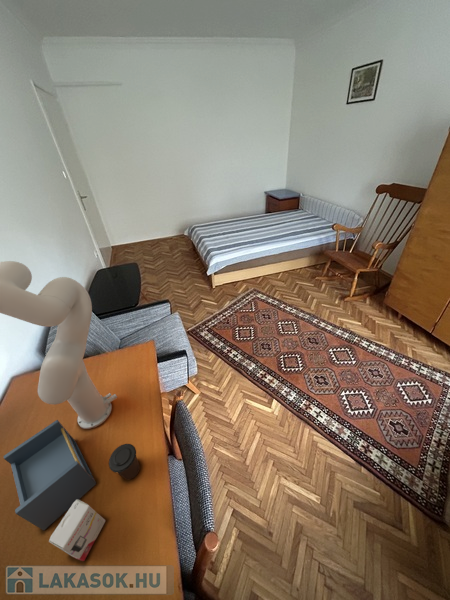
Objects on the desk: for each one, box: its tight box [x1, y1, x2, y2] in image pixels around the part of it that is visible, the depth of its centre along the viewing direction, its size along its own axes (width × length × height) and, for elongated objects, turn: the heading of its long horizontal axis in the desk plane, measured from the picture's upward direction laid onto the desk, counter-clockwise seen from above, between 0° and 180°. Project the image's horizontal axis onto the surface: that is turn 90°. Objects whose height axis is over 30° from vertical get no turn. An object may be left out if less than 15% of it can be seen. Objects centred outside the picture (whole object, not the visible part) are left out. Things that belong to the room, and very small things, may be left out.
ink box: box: [48, 499, 106, 562], centre depth 62 cm, size 9×5×12 cm, turn 162°
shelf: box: [3, 419, 97, 531], centre depth 74 cm, size 15×20×14 cm
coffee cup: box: [108, 443, 141, 481], centre depth 76 cm, size 8×8×10 cm
